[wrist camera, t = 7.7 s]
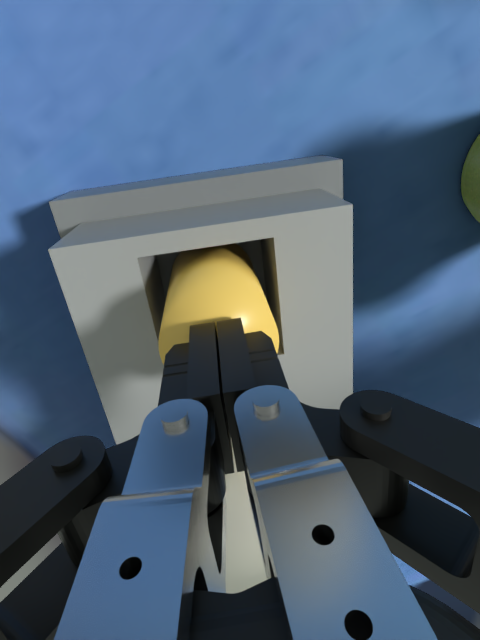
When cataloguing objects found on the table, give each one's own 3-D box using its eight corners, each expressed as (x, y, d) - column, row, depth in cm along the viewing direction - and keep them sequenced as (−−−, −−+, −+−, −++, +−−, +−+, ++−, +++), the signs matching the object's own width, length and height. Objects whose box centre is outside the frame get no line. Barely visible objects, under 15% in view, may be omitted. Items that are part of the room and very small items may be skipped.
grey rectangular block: (322, 154, 19) (383, 167, 13) (332, 481, 29) (370, 581, 22) (70, 191, 19) (4, 223, 12) (167, 509, 28) (158, 618, 22)
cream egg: (273, 400, 17) (307, 521, 12) (280, 460, 19) (312, 590, 14) (192, 413, 17) (189, 542, 12) (206, 472, 19) (208, 609, 14)
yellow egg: (249, 231, 16) (273, 280, 11) (258, 309, 18) (283, 385, 13) (163, 244, 16) (145, 300, 11) (180, 321, 18) (171, 403, 13)
